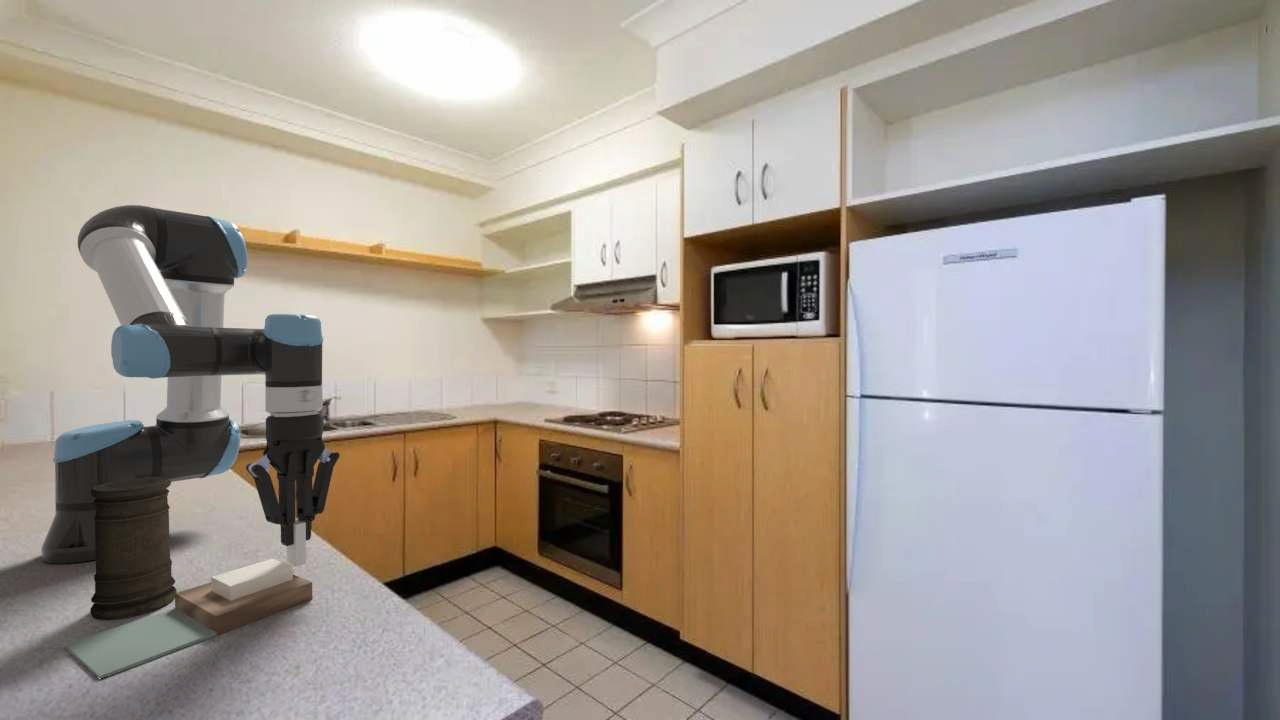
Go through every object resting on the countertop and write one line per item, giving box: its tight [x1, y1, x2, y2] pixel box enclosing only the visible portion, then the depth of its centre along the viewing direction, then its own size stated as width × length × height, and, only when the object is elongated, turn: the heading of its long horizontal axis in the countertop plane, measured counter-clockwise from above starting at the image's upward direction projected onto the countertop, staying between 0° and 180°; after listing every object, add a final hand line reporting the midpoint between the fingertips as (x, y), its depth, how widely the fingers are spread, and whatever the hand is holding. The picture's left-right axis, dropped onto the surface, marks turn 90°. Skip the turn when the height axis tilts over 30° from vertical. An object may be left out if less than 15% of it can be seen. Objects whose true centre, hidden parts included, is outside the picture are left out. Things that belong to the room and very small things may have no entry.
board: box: [174, 574, 313, 636], centre depth 78 cm, size 13×12×2 cm
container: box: [89, 477, 178, 621], centre depth 78 cm, size 9×9×18 cm
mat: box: [63, 607, 217, 679], centre depth 68 cm, size 13×11×1 cm
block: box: [210, 558, 294, 601], centre depth 79 cm, size 6×8×2 cm
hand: (296, 563), depth 84 cm, fingers closed
